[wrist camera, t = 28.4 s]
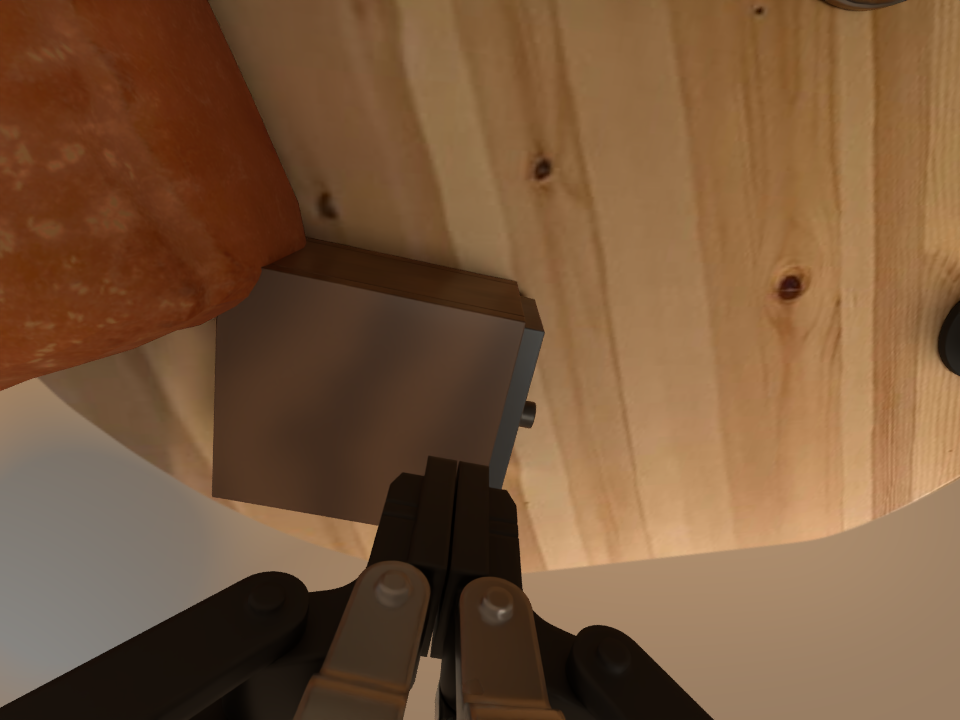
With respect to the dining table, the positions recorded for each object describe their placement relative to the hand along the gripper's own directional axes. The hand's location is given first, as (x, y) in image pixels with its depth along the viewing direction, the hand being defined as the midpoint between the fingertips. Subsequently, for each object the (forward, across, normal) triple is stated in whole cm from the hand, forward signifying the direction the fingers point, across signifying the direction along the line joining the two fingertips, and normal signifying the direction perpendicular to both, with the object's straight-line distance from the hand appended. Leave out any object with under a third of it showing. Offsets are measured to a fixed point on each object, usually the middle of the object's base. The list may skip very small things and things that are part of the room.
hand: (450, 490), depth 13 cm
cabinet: (+22, +5, +7) cm, 23 cm away
